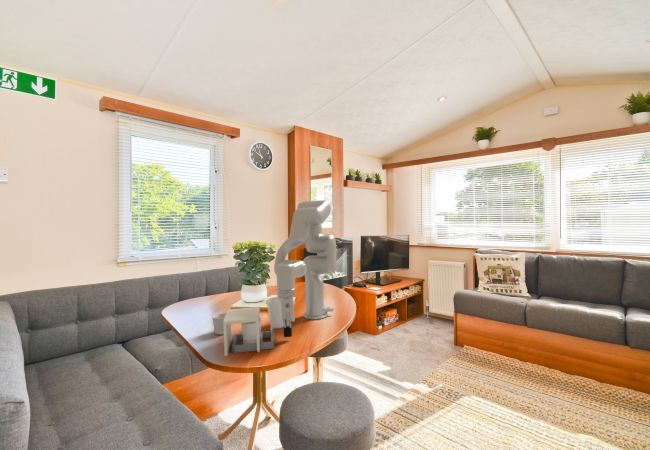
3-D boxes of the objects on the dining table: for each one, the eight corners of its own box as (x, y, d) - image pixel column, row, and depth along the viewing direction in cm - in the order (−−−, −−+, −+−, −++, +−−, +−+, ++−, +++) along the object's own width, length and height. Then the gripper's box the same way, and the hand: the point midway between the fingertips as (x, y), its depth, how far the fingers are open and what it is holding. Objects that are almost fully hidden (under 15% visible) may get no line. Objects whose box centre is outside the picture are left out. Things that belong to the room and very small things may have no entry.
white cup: (256, 349, 120) (255, 324, 120) (238, 347, 122) (237, 323, 122) (265, 341, 128) (264, 318, 127) (248, 340, 130) (247, 316, 129)
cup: (217, 328, 146) (216, 311, 145) (234, 327, 146) (233, 310, 146) (210, 336, 135) (210, 318, 135) (229, 335, 135) (228, 317, 135)
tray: (273, 336, 132) (272, 327, 132) (273, 348, 120) (273, 338, 120) (235, 340, 129) (235, 331, 129) (232, 353, 117) (231, 342, 117)
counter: (260, 336, 133) (259, 306, 133) (259, 352, 117) (258, 318, 117) (229, 339, 130) (228, 309, 130) (224, 356, 115) (223, 321, 115)
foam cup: (285, 321, 151) (284, 295, 151) (289, 328, 143) (288, 300, 142) (266, 324, 148) (265, 298, 148) (269, 331, 139) (268, 302, 139)
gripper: (296, 296, 120) (298, 342, 121) (293, 288, 135) (295, 329, 136) (277, 298, 119) (279, 344, 119) (276, 289, 134) (278, 330, 134)
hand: (287, 336), depth 128 cm, fingers closed
